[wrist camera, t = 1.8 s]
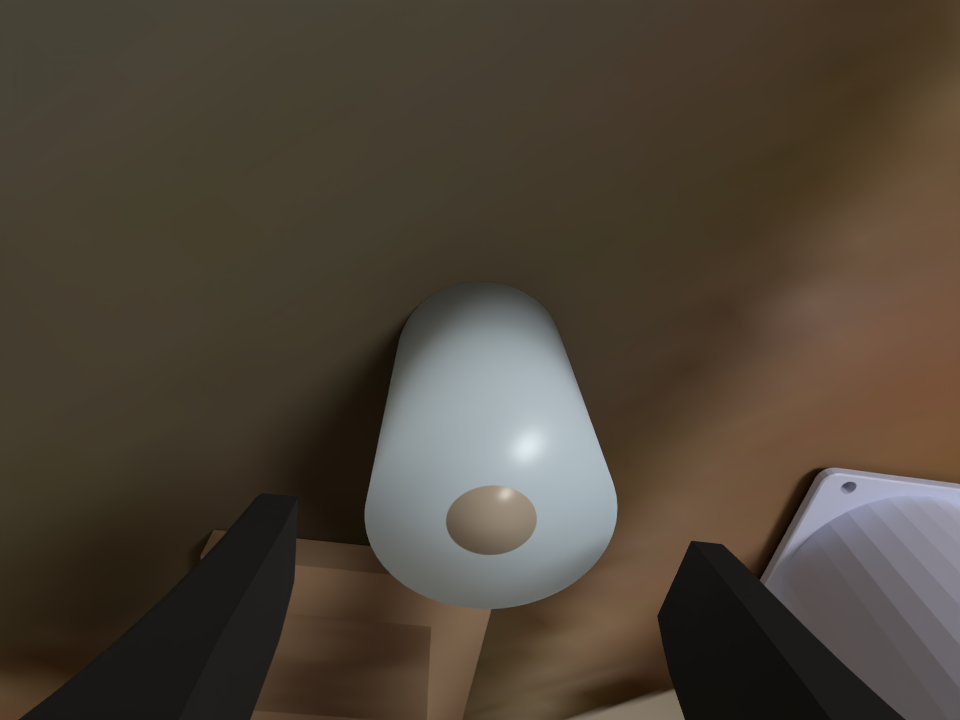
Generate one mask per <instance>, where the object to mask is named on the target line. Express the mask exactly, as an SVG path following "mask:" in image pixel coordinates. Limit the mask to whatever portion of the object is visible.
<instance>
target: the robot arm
mask: <svg viewBox="0 0 960 720" xmlns="http://www.w3.org/2000/svg"><path fill="white" fill-rule="evenodd" d="M847 482H848V483H847ZM845 483H847V484H845ZM843 484H845V485H843ZM842 485H843V486H842ZM297 517H298V497H290V496H281V495H272V494H263V493H262V494H261V495H259V496H258V497H256V498H255V499H254V501H253V502H252V503H251V504H250V506H249V507H248V508H247V509H246V510H245V512H244V513H243V514H242V515H241V516H240V517H239V519H238V520H237V521H236V522H235V523H234V524H233V526H232V527H231V528H230V529H229V530H228V531H227V532H226V533H225V535H224V536H223V537H222V538H221V539H220V540H219V541H218V542H217V543H216V544H215V545H214V547H213V548H212V549H211V550H210V551H209V552H208V553H207V554H206V555H205V556H204V557H203V558H202V559H201V560H200V561H199V562H198V563H197V564H196V565H195V566H194V567H193V568H192V569H191V571H190V572H189V573H188V574H187V575H186V576H185V577H184V578H183V579H182V580H181V581H180V582H179V583H178V584H177V585H176V586H175V587H174V588H173V589H172V590H171V591H170V592H169V593H168V594H167V595H166V596H165V597H163V598H162V599H161V600H160V601H159V602H158V603H157V604H156V605H155V606H154V607H153V608H152V609H151V610H149V611H148V612H147V613H146V614H145V615H144V616H143V617H142V618H141V619H140V620H139V621H138V622H137V623H136V624H134V625H133V626H132V627H131V628H130V629H129V630H128V631H127V632H126V633H125V634H124V635H122V636H121V637H120V638H119V639H118V640H117V641H116V642H114V643H113V644H112V645H111V646H110V647H109V648H108V649H106V650H105V651H104V652H103V653H102V654H101V655H99V656H98V657H97V658H96V659H95V660H93V661H92V662H91V663H90V664H89V665H88V666H86V667H85V668H84V669H83V670H81V671H80V672H79V673H78V674H77V675H75V676H74V677H73V678H72V679H70V680H69V681H68V682H67V683H65V684H64V685H63V686H62V687H61V688H59V689H58V690H57V691H55V692H54V693H53V694H52V695H50V696H49V697H48V698H46V699H45V700H44V701H42V702H41V703H40V704H39V705H37V706H36V707H35V708H33V709H32V710H31V711H29V712H28V713H27V714H25V715H24V716H23V717H21V718H20V719H19V720H250V719H251V717H252V714H253V711H254V708H255V706H256V703H257V700H258V698H259V695H260V692H261V689H262V687H263V684H264V681H265V679H266V676H267V673H268V670H269V668H270V665H271V662H272V659H273V657H274V654H275V651H276V648H277V646H278V643H279V640H280V636H281V633H282V629H283V625H284V621H285V617H286V613H287V609H288V605H289V601H290V597H291V593H292V589H293V585H294V579H295V559H296V538H297ZM657 617H658V622H659V627H660V632H661V637H662V642H663V647H664V652H665V656H666V660H667V665H668V669H669V673H670V676H671V679H672V682H673V685H674V689H675V691H676V694H677V697H678V700H679V703H680V706H681V709H682V712H683V715H684V718H685V720H960V484H956V483H948V482H941V481H933V480H925V479H918V478H910V477H902V476H895V475H887V474H880V473H872V472H864V471H857V470H849V469H841V468H828V469H825V470H823V471H821V472H820V473H819V474H818V475H817V476H816V478H815V479H814V481H813V483H812V485H811V487H810V489H809V491H808V492H807V494H806V496H805V498H804V500H803V502H802V503H801V505H800V507H799V509H798V511H797V513H796V515H795V516H794V518H793V520H792V522H791V524H790V526H789V527H788V529H787V531H786V533H785V535H784V537H783V539H782V540H781V542H780V544H779V546H778V548H777V550H776V551H775V553H774V555H773V557H772V559H771V561H770V563H769V564H768V566H767V568H766V570H765V572H764V574H763V575H762V577H761V579H760V580H759V579H758V578H757V577H756V576H755V575H754V574H753V573H752V572H751V571H750V570H749V569H748V568H747V567H746V566H745V565H744V564H743V563H742V562H740V561H739V560H738V559H737V558H736V557H735V556H734V555H733V554H732V553H731V552H730V551H729V550H728V549H727V548H726V547H725V546H724V545H722V544H715V543H706V542H697V541H691V543H690V545H689V547H688V549H687V552H686V554H685V556H684V558H683V560H682V563H681V565H680V567H679V569H678V572H677V574H676V576H675V578H674V580H673V583H672V585H671V587H670V589H669V592H668V594H667V596H666V598H665V600H664V603H663V605H662V607H661V609H660V611H659V614H658V616H657Z"/></svg>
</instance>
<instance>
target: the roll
mask: <svg viewBox="0 0 960 720" xmlns="http://www.w3.org/2000/svg"><path fill="white" fill-rule="evenodd" d="M616 518H617V497H616V493H615V488H614V484H613V482H612V479H611V476H610V473H609V471H608V468H607V465H606V462H605V459H604V457H603V454H602V451H601V448H600V446H599V443H598V440H597V437H596V434H595V432H594V429H593V426H592V423H591V421H590V418H589V415H588V412H587V409H586V407H585V404H584V401H583V398H582V396H581V393H580V390H579V387H578V384H577V382H576V379H575V376H574V373H573V371H572V368H571V365H570V362H569V360H568V357H567V354H566V351H565V348H564V346H563V343H562V340H561V337H560V335H559V332H558V330H557V327H556V325H555V323H554V321H553V319H552V318H551V316H550V315H549V313H548V312H547V311H546V310H545V308H544V307H543V306H542V305H541V304H539V303H538V302H537V301H536V300H535V299H534V298H532V297H531V296H529V295H528V294H526V293H524V292H522V291H521V290H519V289H517V288H514V287H511V286H508V285H505V284H500V283H496V282H486V281H478V282H467V283H461V284H457V285H454V286H450V287H448V288H446V289H443V290H441V291H439V292H437V293H436V294H434V295H432V296H430V297H429V298H428V299H427V300H425V301H424V302H423V303H421V304H420V305H419V307H418V308H417V309H416V310H415V311H414V312H413V313H412V315H411V316H410V317H409V319H408V320H407V322H406V324H405V326H404V328H403V330H402V333H401V335H400V338H399V343H398V348H397V353H396V358H395V363H394V367H393V372H392V377H391V382H390V387H389V392H388V397H387V402H386V407H385V411H384V416H383V421H382V426H381V431H380V436H379V441H378V446H377V451H376V455H375V460H374V465H373V470H372V475H371V480H370V485H369V490H368V495H367V499H366V504H365V526H366V533H367V536H368V539H369V542H370V545H371V547H372V549H373V551H374V553H375V555H376V556H377V558H378V559H379V561H380V562H381V563H382V565H383V566H384V567H385V568H386V569H387V570H388V571H389V573H390V574H391V575H392V576H393V577H395V578H396V579H397V580H398V581H400V582H401V583H402V584H403V585H405V586H407V587H408V588H410V589H411V590H413V591H415V592H417V593H419V594H421V595H423V596H425V597H427V598H430V599H432V600H435V601H438V602H441V603H445V604H449V605H453V606H458V607H465V608H475V609H498V608H507V607H515V606H519V605H524V604H528V603H532V602H535V601H538V600H541V599H544V598H546V597H548V596H551V595H553V594H555V593H557V592H559V591H561V590H563V589H564V588H566V587H568V586H570V585H571V584H572V583H574V582H575V581H577V580H578V579H579V578H581V577H582V576H583V575H584V574H585V573H586V572H587V571H588V570H590V569H591V568H592V567H593V565H594V564H595V563H596V562H597V561H598V559H599V558H600V557H601V555H602V554H603V552H604V551H605V549H606V548H607V546H608V544H609V542H610V539H611V537H612V535H613V531H614V528H615V524H616Z"/></svg>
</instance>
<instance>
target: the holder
mask: <svg viewBox="0 0 960 720" xmlns="http://www.w3.org/2000/svg"><path fill="white" fill-rule="evenodd" d="M226 532H227V531H222V530H213V532H212V534H211V536H210V538H209V540H208V542H207V544H206V546H205V548H204V550H203V552H202V554H201V559H202V558H203V557H204V556H205V555H206V554H207V553H208V552H209V551H210V550H211V549H212V548H213V547H214V545H215V544H216V543H217V542H218V541H219V540H220V539H221V538H222V537H223V536H224V535H225V533H226ZM490 612H491V609H475V608H465V607H458V606H453V605H449V604H445V603H441V602H438V601H435V600H432V599H430V598H427V597H425V596H423V595H421V594H419V593H417V592H415V591H413V590H411V589H410V588H408V587H407V586H405V585H403V584H402V583H401V582H400V581H398V580H397V579H396V578H395V577H393V576H392V575H391V574H390V573H389V571H388V570H387V569H386V568H385V567H384V566H383V565H382V563H381V562H380V561H379V559H378V558H377V556H376V555H375V553H374V551H373V549H372V547H371V546H364V545H355V544H345V543H336V542H326V541H317V540H307V539H298V538H296V559H295V579H294V585H293V589H292V593H291V597H290V601H289V605H288V609H287V613H286V617H285V621H284V625H283V629H282V633H281V636H280V640H279V643H278V646H277V648H276V651H275V654H274V657H273V659H272V662H271V665H270V668H269V670H268V673H267V676H266V679H265V681H264V684H263V687H262V689H261V692H260V695H259V698H258V700H257V703H256V706H255V708H254V711H253V714H252V717H251V719H250V720H462V718H463V714H464V711H465V707H466V703H467V699H468V695H469V692H470V688H471V684H472V680H473V677H474V673H475V669H476V665H477V662H478V658H479V654H480V650H481V646H482V643H483V639H484V635H485V631H486V628H487V624H488V620H489V616H490Z"/></svg>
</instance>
